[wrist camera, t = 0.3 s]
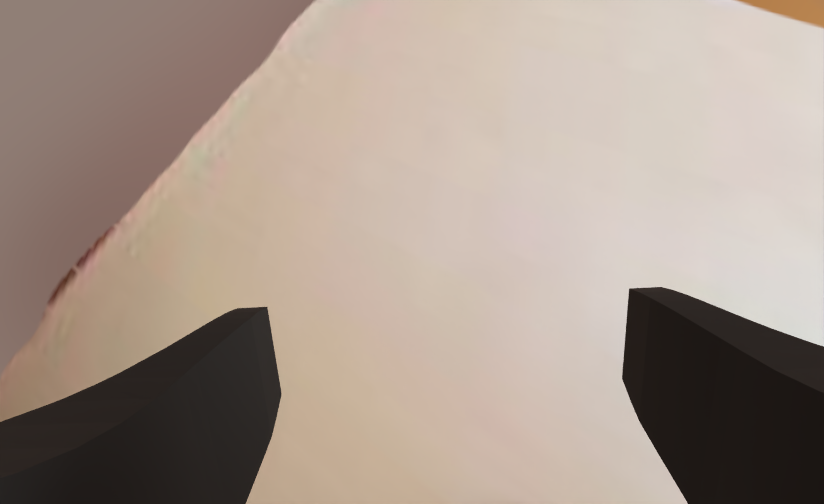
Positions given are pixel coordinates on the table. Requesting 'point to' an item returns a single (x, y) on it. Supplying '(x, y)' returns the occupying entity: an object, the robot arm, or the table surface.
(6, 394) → the table surface
